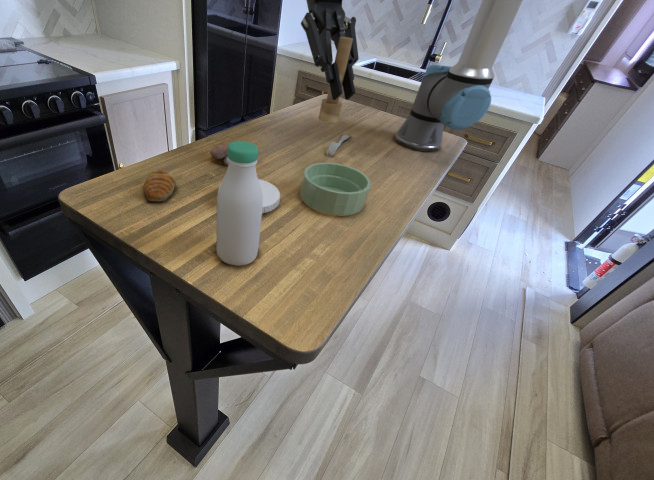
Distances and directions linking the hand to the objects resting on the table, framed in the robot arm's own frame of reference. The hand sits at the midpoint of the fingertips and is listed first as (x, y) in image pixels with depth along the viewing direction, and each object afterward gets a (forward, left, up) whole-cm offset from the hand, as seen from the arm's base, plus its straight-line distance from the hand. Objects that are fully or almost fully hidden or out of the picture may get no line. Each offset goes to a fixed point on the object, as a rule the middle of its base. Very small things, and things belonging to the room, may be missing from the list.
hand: (344, 96), depth 74 cm
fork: (-27, -9, -20) cm, 35 cm away
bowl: (+8, +6, -20) cm, 23 cm away
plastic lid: (+23, -8, -20) cm, 32 cm away
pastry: (+34, -25, -20) cm, 47 cm away
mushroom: (+10, -26, -20) cm, 34 cm away
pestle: (-2, -3, -6) cm, 7 cm away
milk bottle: (+40, +2, -20) cm, 45 cm away
